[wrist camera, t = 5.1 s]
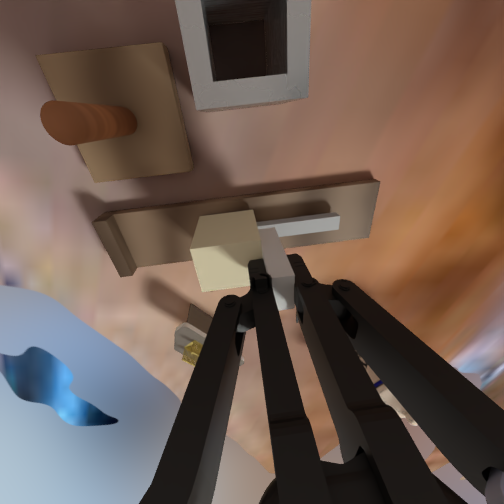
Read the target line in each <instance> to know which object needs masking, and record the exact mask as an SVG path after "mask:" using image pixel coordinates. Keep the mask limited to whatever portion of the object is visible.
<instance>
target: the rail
mask: <svg viewBox="0 0 504 504" xmlns="http://www.w3.org/2000/svg"><path fill="white" fill-rule="evenodd" d="M379 186H380V181H378V180H376V179H371V180H363V181H355V182H346V183H338V184H330V185H322V186H314V187H306V188H298V189H289V190H281V191H273V192H265V193H257V194H249V195H241V196H233V197H224V198H216V199H208V200H200V201H192V202H184V203H176V204H167V205H159V206H151V207H143V208H135V209H127V210H119V211H111V212H105V213H103V214H102V215H101V216H99V217H98V218H97V219H96V220H94V221H93V222H92V224H93V226H94V228H95V230H96V231H97V233H98V235H99V237H100V239H101V241H102V243H103V245H104V247H105V249H106V251H107V252H108V254H109V256H110V258H111V260H112V262H113V264H114V266H115V268H116V270H117V272H118V273H119V275H120V277H126V276H132V275H133V274H134V272H135V271H136V269H137V267H145V266H153V265H161V264H168V263H176V262H184V261H192V260H193V259H192V255H191V252H190V247H191V243H192V240H193V237H194V233H195V230H196V227H197V223H198V220H199V217H200V216H206V215H214V214H222V213H230V212H238V211H246V210H253V211H254V215H255V219H256V222H261V221H269V220H277V219H285V218H293V217H301V216H309V215H317V214H325V213H333V212H336V213H337V214H339V215H340V222H339V229H338V230H331V231H323V232H315V233H307V234H299V235H292V236H284V237H279V239H280V241H281V243H282V246H283V248H284V249H285V248H292V247H300V246H308V245H316V244H323V243H331V242H339V241H347V240H354V239H362V238H369V234H370V230H371V225H372V220H373V215H374V210H375V205H376V201H377V196H378V191H379Z"/></svg>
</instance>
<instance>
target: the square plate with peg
mask: <svg viewBox="0 0 504 504" xmlns="http://www.w3.org/2000/svg"><path fill="white" fill-rule="evenodd" d="M35 56H36V58H37V60H38V62H39V64H40V67H41V69H42V71H43V73H44V75H45V77H46V79H47V82H48V84H49V86H50V88H51V90H52V92H53V94H54V97H55V99H56V101H48V102H46V103H45V104H44V105H43V106H42V108H41V112H40V117H41V121H42V124H43V126H44V128H45V129H46V131H47V132H48V133H49V135H50V136H51V137H53V138H54V139H55V140H57V141H58V142H60V143H62V144H65V145H77V146H78V148H79V150H80V152H81V154H82V156H83V159H84V161H85V163H86V165H87V167H88V169H89V171H90V174H91V176H92V178H93V180H94V182H95V183H98V182H106V181H115V180H123V179H131V178H140V177H148V176H156V175H165V174H173V173H181V172H190V171H192V170H193V169H194V165H193V160H192V156H191V152H190V147H189V143H188V138H187V134H186V129H185V125H184V120H183V116H182V111H181V107H180V103H179V98H178V94H177V89H176V85H175V80H174V76H173V71H172V67H171V62H170V58H169V54H168V49H167V47H166V46H165V45H164V44H163V43H162V42H157V43H148V44H139V45H129V46H120V47H110V48H101V49H91V50H82V51H72V52H63V53H54V54H44V55H35Z"/></svg>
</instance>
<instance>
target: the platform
mask: <svg viewBox="0 0 504 504" xmlns="http://www.w3.org/2000/svg"><path fill="white" fill-rule="evenodd" d="M212 319H213V318H212V317H210V316H209V315H207V314H206V313H204V312H203V311H202V310H200V309H199V308H197V307H196V306H194V305H193V304H190V309H189V314H188V319H187V322H184V323H182V324H181V325H179V326H178V327H177V328H176V330H175V343H174V349H175V350H176V351H178V352H180V353H181V354H183V359H182V360H183V361H185V362H187V363H189V364H191V362H192V364H191V365H193V366H195V362H197V360H198V357H199V354H200V352H201V349H202V346H203V344H204V341H205V338H206V335H207V333H208V330H209V327H210V325H211V322H212ZM195 344H196V345H195ZM191 345H192V347H191ZM196 346H197V348H196ZM197 349H198V350H197ZM184 355H185V356H186V358H187V360H186V358H185V356H184ZM189 358H190V359H191V362H190V359H189ZM194 360H195V362H194ZM242 364H244V357H242V356H241V360H240V365H239V366H241V365H242Z"/></svg>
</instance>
